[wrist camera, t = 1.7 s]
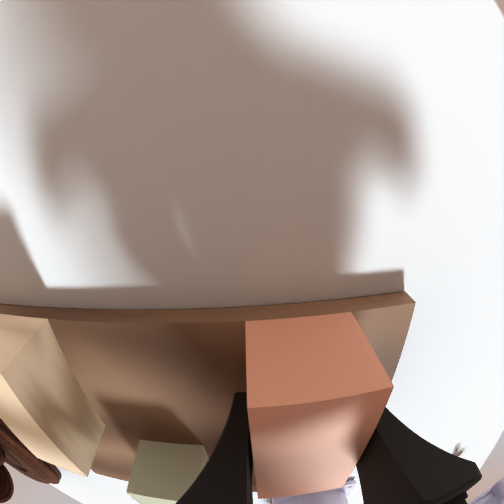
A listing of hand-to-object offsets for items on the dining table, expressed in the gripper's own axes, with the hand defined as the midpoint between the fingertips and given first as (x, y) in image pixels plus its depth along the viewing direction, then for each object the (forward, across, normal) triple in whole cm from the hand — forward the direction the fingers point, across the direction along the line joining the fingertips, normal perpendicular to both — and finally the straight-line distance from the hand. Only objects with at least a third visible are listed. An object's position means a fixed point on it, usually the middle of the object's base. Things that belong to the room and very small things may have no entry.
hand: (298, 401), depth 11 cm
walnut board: (+2, +6, +5) cm, 8 cm away
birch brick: (+1, +13, 0) cm, 13 cm away
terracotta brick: (+1, 0, 0) cm, 1 cm away
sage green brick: (+1, +7, +9) cm, 11 cm away
